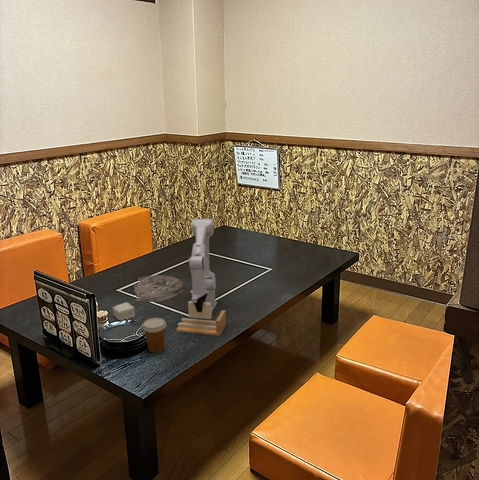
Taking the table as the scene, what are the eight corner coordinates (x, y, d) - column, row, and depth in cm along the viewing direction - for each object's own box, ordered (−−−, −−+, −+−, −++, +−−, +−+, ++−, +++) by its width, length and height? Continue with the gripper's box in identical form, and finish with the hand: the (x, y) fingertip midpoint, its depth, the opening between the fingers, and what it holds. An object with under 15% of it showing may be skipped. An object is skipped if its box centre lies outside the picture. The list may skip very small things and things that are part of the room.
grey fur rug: (151, 271, 276) (151, 270, 276) (197, 284, 256) (197, 283, 256) (106, 291, 250) (106, 291, 250) (153, 307, 231) (153, 306, 230)
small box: (135, 317, 222) (134, 307, 220) (120, 322, 217) (119, 312, 215) (128, 311, 227) (127, 301, 226) (113, 316, 223) (111, 306, 221)
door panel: (190, 315, 210) (189, 300, 208) (211, 317, 207) (211, 302, 205) (189, 317, 208) (187, 302, 206) (210, 319, 206) (209, 304, 203)
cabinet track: (184, 320, 216) (183, 306, 214) (226, 324, 212) (225, 310, 209) (176, 331, 207) (175, 317, 205) (219, 335, 202) (219, 321, 200)
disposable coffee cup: (151, 341, 200) (148, 316, 196) (171, 344, 197) (169, 318, 193) (140, 353, 191) (137, 326, 187) (162, 356, 188) (159, 329, 185)
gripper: (195, 275, 210) (197, 302, 214) (184, 288, 197) (186, 317, 201) (210, 276, 208) (211, 303, 213) (200, 289, 195) (201, 318, 199)
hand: (200, 310), depth 207 cm, fingers closed on door panel, 2 cm apart
